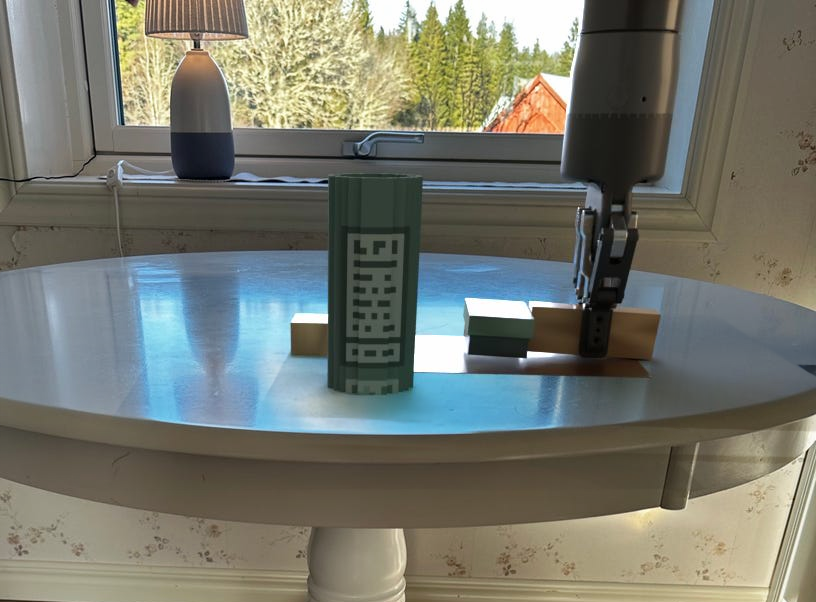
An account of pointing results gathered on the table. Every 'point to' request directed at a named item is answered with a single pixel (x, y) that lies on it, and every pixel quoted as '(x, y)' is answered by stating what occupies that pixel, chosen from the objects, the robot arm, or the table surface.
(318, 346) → the cork block
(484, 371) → the board
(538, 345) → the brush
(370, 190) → the can
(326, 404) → the table surface
